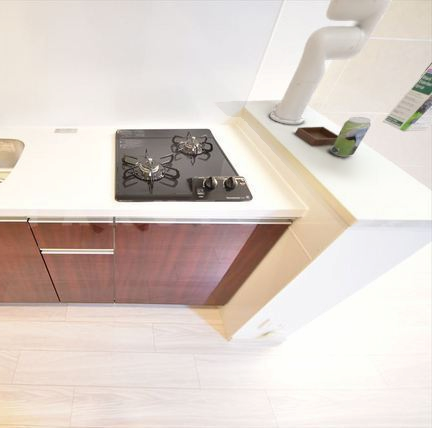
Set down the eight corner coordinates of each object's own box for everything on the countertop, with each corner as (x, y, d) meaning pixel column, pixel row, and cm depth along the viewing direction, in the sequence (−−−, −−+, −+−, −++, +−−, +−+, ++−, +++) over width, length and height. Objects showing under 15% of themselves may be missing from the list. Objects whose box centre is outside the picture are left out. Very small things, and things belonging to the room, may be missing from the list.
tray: (294, 133, 90) (298, 127, 88) (319, 132, 90) (323, 126, 89) (311, 145, 83) (316, 139, 81) (338, 144, 83) (343, 138, 82)
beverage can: (354, 159, 76) (384, 124, 68) (330, 157, 77) (356, 122, 69) (345, 150, 80) (371, 115, 72) (321, 148, 82) (345, 114, 73)
